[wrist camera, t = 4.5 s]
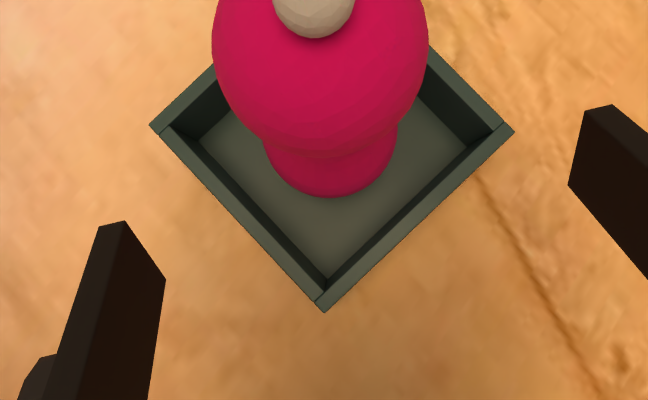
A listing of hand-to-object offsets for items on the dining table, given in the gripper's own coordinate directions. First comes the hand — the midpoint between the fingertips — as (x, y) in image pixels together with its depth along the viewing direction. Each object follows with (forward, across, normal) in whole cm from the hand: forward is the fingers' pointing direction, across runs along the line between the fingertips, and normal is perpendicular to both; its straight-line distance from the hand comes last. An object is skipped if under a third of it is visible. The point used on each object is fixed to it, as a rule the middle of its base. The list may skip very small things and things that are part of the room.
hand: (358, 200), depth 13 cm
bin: (+14, 0, -8) cm, 16 cm away
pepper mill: (+14, 0, -8) cm, 16 cm away
